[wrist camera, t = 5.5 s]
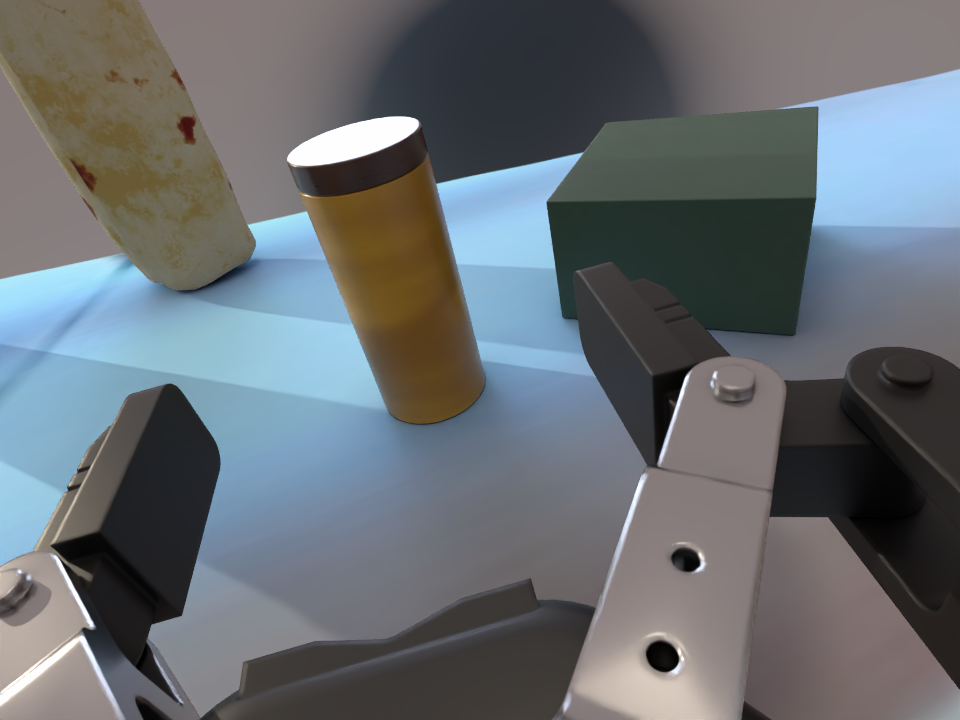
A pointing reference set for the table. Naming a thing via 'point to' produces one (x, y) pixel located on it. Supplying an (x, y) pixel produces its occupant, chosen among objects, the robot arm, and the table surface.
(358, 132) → the lidded jar
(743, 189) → the block
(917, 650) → the table surface
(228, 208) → the food model
